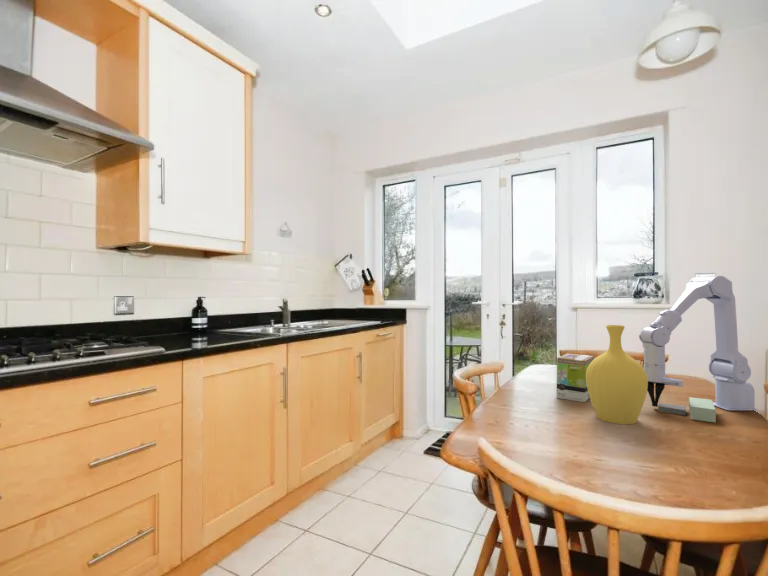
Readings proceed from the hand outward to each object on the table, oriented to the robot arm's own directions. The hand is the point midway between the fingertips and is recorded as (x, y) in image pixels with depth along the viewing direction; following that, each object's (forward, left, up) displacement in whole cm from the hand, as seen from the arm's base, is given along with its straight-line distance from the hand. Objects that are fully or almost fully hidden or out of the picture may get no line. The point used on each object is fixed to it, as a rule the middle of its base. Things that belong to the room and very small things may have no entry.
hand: (654, 405), depth 128 cm
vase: (+18, +10, -1) cm, 21 cm away
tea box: (+18, -16, -1) cm, 24 cm away
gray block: (-4, +3, -1) cm, 5 cm away
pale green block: (-10, +7, -1) cm, 12 cm away
